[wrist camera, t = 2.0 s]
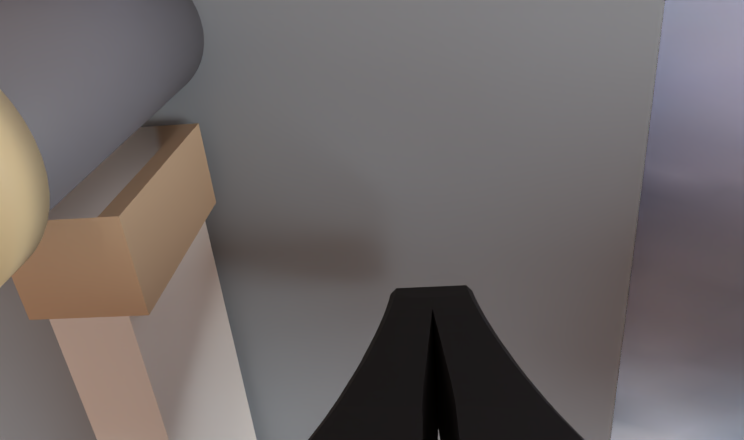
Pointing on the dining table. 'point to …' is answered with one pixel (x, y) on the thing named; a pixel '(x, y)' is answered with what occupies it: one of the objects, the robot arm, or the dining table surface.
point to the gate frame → (347, 177)
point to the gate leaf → (141, 295)
